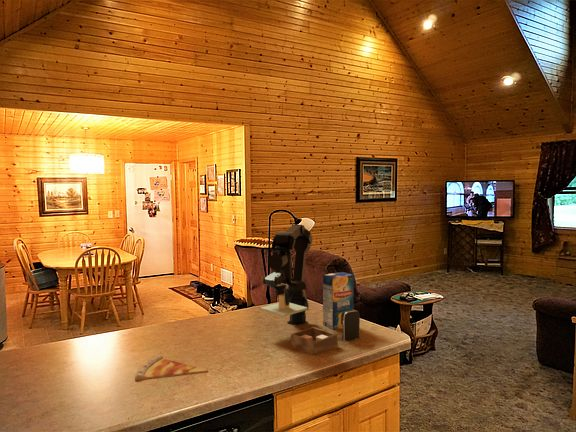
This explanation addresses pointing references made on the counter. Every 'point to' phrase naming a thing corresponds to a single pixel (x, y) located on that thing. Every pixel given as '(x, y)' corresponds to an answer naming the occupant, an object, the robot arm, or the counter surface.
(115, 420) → the counter surface
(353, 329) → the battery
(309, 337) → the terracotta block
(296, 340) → the box
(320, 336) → the cream block
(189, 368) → the pizza slice
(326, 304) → the beverage box
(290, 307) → the lid
